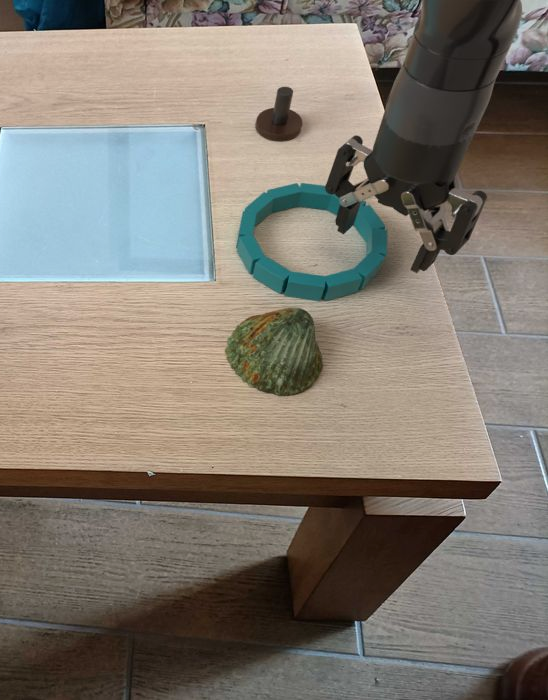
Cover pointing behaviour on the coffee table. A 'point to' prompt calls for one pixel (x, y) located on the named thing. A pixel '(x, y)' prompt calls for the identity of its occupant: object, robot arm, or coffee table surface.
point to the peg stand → (279, 118)
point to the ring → (302, 282)
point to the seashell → (276, 351)
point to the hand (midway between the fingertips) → (380, 247)
